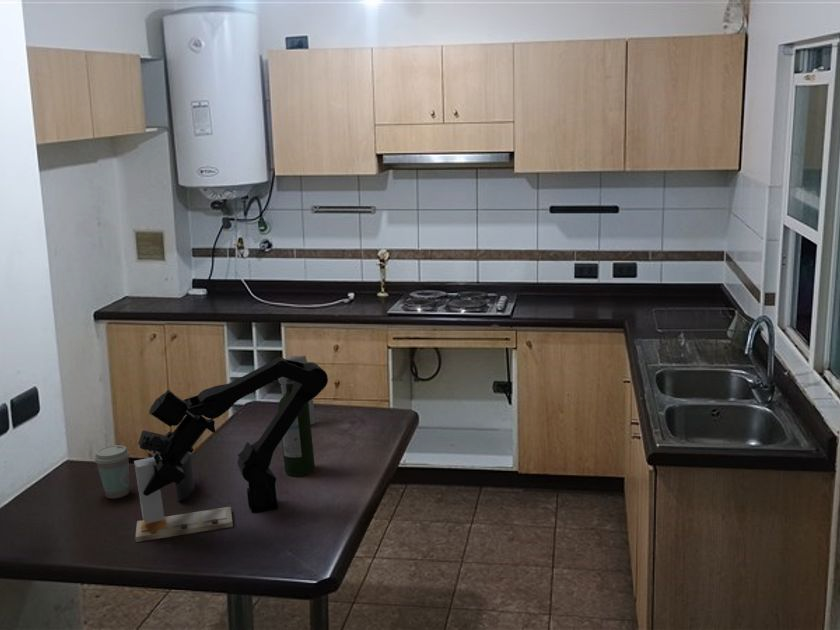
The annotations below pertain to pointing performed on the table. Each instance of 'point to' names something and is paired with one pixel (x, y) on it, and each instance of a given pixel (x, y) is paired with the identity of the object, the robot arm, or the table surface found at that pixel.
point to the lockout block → (152, 502)
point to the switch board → (184, 524)
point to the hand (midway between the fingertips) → (143, 491)
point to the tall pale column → (283, 386)
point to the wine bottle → (298, 441)
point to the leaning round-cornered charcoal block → (186, 479)
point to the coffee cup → (114, 470)
